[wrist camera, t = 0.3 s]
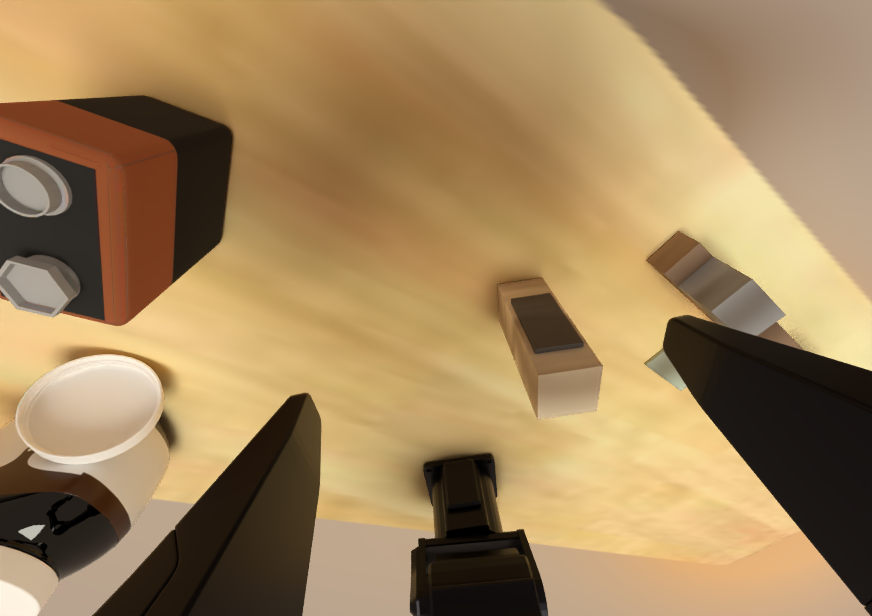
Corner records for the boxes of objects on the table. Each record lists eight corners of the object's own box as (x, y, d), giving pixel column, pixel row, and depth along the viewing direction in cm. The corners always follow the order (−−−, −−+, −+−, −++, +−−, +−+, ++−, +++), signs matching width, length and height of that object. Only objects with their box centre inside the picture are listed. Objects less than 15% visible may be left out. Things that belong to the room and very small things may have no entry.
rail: (812, 366, 31) (876, 412, 27) (725, 422, 34) (770, 471, 30) (678, 231, 24) (738, 264, 19) (583, 318, 27) (616, 363, 22)
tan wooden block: (541, 315, 26) (596, 411, 19) (499, 321, 26) (537, 419, 19) (542, 273, 25) (603, 360, 17) (497, 280, 25) (538, 370, 17)
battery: (141, 220, 21) (-39, 315, 13) (140, 91, 18) (-101, 101, 9) (223, 245, 22) (109, 347, 14) (236, 127, 19) (98, 165, 10)
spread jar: (71, 459, 31) (-88, 639, 21) (-19, 351, 25) (-301, 531, 15) (220, 449, 31) (134, 619, 21) (166, 341, 25) (13, 508, 15)
